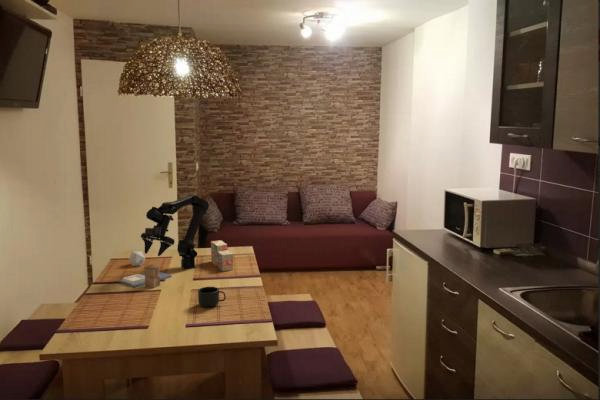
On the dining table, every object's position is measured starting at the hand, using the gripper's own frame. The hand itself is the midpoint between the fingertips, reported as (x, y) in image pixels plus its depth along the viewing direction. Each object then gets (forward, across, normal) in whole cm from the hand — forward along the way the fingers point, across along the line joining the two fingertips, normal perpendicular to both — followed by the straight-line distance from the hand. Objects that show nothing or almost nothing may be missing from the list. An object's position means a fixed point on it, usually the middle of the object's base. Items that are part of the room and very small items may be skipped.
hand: (151, 254), depth 257 cm
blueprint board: (+12, -4, +6) cm, 14 cm away
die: (+4, -27, +19) cm, 34 cm away
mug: (+18, +49, -3) cm, 52 cm away
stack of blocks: (-7, +14, +40) cm, 43 cm away
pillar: (+15, +7, +1) cm, 16 cm away
